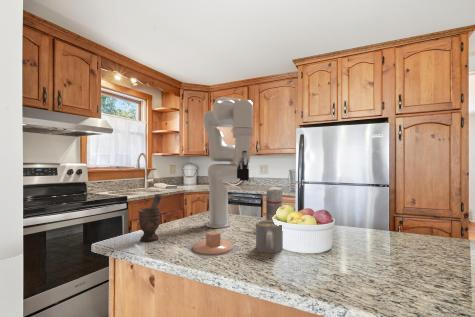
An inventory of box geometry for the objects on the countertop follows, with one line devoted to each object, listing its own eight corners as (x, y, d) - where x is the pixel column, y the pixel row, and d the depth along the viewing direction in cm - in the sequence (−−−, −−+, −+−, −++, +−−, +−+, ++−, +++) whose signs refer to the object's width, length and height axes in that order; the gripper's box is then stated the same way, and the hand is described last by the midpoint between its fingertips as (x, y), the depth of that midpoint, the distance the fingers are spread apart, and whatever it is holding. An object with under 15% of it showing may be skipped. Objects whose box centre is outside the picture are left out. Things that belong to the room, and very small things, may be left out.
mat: (184, 247, 100) (184, 245, 100) (220, 240, 109) (220, 238, 109) (203, 260, 87) (203, 258, 87) (242, 251, 96) (242, 249, 96)
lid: (186, 245, 100) (186, 231, 100) (219, 239, 108) (220, 226, 108) (204, 258, 88) (204, 241, 88) (240, 249, 96) (240, 234, 96)
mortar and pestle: (170, 240, 109) (171, 192, 109) (157, 246, 101) (157, 194, 101) (148, 237, 113) (148, 191, 113) (133, 242, 105) (134, 193, 105)
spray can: (283, 229, 127) (283, 188, 128) (266, 229, 128) (267, 188, 128) (281, 224, 136) (281, 186, 136) (265, 224, 136) (265, 186, 136)
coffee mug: (259, 244, 104) (259, 219, 104) (284, 247, 101) (284, 221, 101) (250, 255, 92) (250, 227, 92) (278, 259, 88) (278, 229, 88)
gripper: (231, 135, 106) (230, 177, 106) (235, 130, 89) (234, 181, 89) (249, 135, 107) (249, 177, 107) (256, 131, 89) (256, 181, 89)
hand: (242, 179), depth 98 cm, fingers open, 9 cm apart
